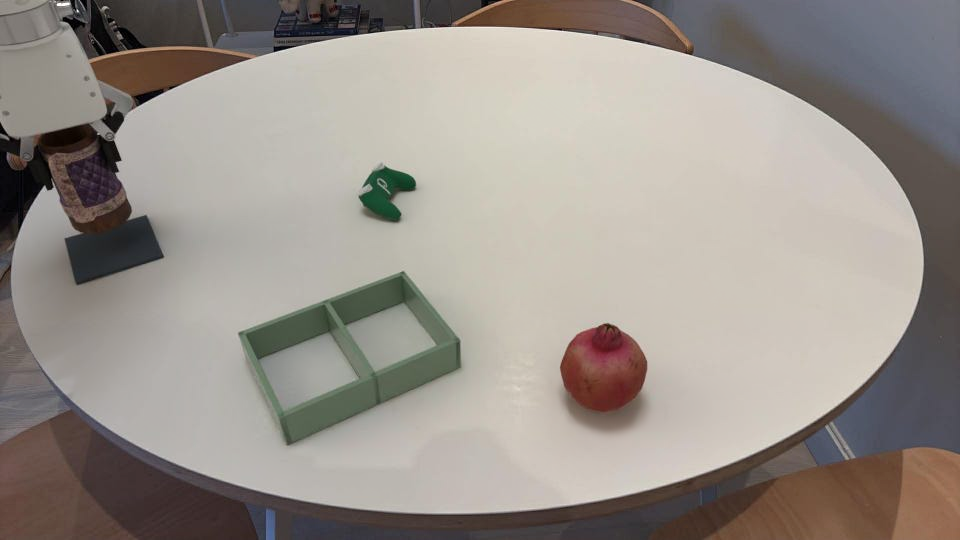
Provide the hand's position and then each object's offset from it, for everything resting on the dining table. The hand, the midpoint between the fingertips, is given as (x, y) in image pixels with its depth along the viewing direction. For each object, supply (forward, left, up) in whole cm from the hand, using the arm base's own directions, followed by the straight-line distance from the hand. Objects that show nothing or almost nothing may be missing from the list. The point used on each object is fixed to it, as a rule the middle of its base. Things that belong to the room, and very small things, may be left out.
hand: (81, 174), depth 81 cm
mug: (0, 0, -7) cm, 7 cm away
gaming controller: (+34, -8, -11) cm, 37 cm away
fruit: (+37, -50, -11) cm, 64 cm away
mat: (0, 0, -11) cm, 11 cm away
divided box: (+18, -33, -11) cm, 40 cm away
